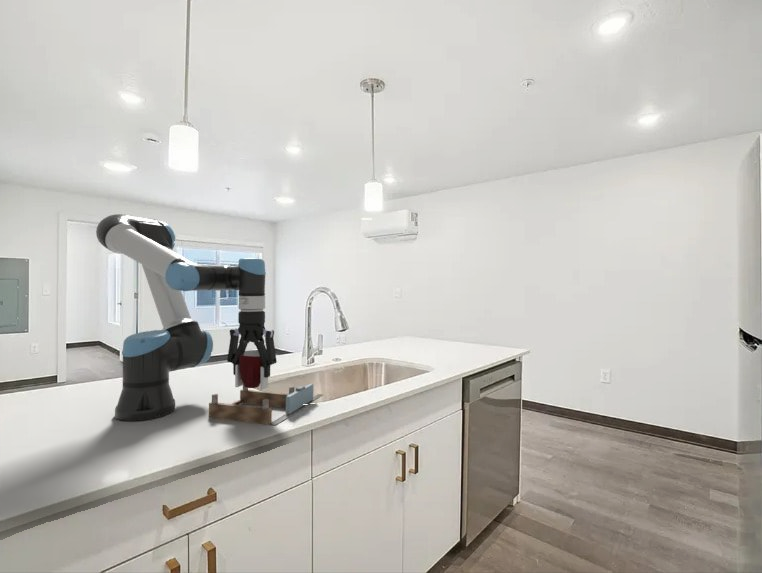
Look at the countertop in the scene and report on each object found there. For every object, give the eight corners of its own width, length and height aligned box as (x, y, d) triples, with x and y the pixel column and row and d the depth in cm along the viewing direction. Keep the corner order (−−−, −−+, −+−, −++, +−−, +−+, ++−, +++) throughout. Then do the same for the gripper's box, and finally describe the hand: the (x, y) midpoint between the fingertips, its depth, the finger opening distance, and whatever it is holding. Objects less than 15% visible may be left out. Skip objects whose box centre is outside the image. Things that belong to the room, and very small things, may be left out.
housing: (208, 417, 110) (208, 394, 110) (268, 389, 139) (268, 372, 139) (275, 425, 104) (275, 401, 104) (323, 395, 133) (323, 376, 133)
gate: (285, 413, 112) (285, 393, 112) (309, 398, 127) (309, 381, 127) (290, 414, 112) (290, 394, 112) (313, 399, 127) (313, 381, 127)
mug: (266, 393, 111) (268, 358, 111) (236, 393, 109) (239, 358, 108) (265, 381, 121) (267, 350, 121) (237, 382, 119) (239, 350, 118)
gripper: (213, 310, 114) (213, 387, 114) (275, 311, 109) (275, 393, 109) (230, 309, 122) (230, 381, 122) (289, 310, 116) (289, 386, 116)
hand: (251, 387), depth 115 cm, fingers closed on mug, 8 cm apart
